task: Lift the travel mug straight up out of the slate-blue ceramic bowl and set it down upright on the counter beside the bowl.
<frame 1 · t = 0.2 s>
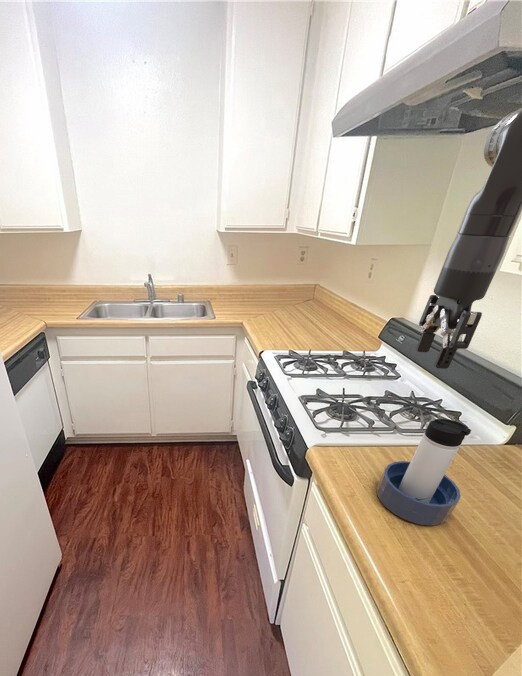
hand: (430, 359, 66), 30 cm above the countertop, tool pointing down, fingers open, 8 cm apart
bowl: (410, 502, 76), on the countertop
travel mug: (411, 501, 76), resting on bowl
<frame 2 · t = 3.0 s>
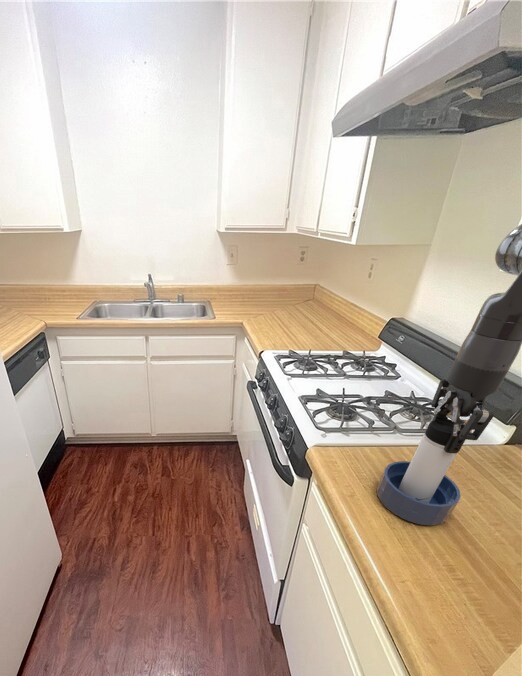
hand: (441, 441, 67), 16 cm above the countertop, tool pointing down, fingers closed on travel mug, 6 cm apart
travel mug: (411, 500, 76), resting on bowl, touching gripper
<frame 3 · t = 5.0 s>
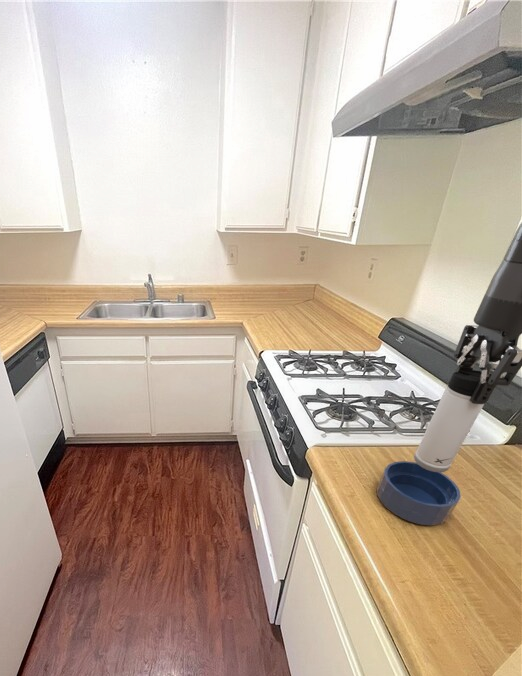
hand: (466, 393, 62), 27 cm above the countertop, tool pointing down, fingers closed on travel mug, 6 cm apart
travel mug: (431, 464, 70), point 11 cm above the countertop, touching gripper
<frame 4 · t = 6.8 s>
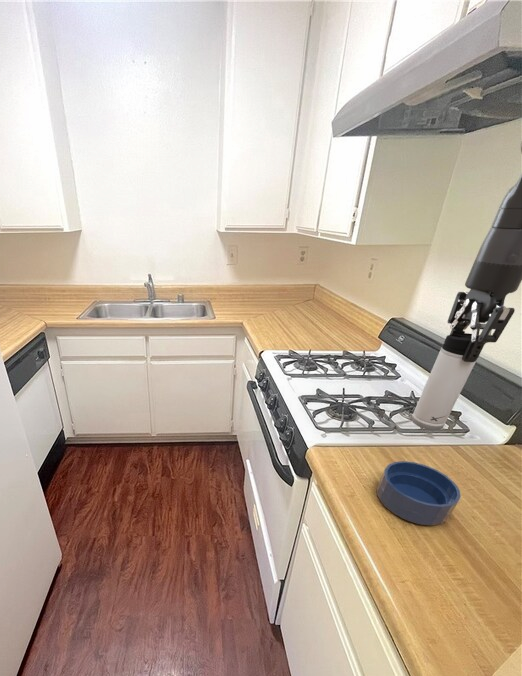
hand: (458, 354, 67), 31 cm above the countertop, tool pointing down, fingers closed on travel mug, 6 cm apart
travel mug: (427, 424, 76), point 15 cm above the countertop, touching gripper
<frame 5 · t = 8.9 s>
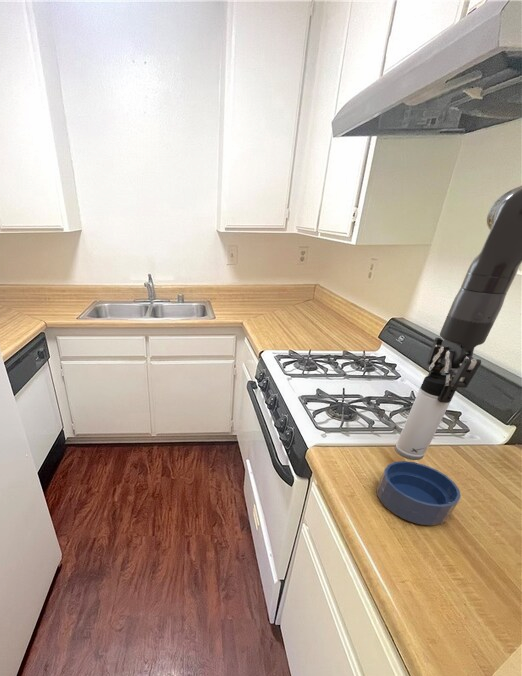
hand: (435, 394, 75), 21 cm above the countertop, tool pointing down, fingers closed on travel mug, 6 cm apart
travel mug: (408, 453, 83), point 5 cm above the countertop, touching gripper
when the fingers open (16 cm above the countertop, at t = 10.7 s): travel mug stays where it is, on the countertop.
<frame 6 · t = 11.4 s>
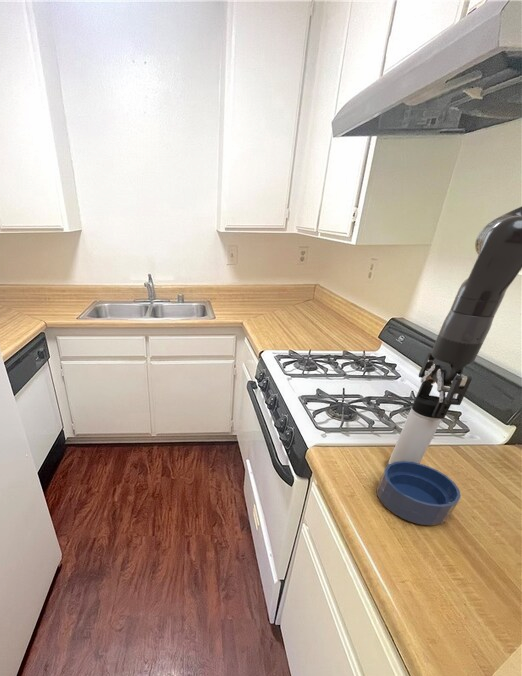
hand: (428, 408, 76), 17 cm above the countertop, tool pointing down, fingers open, 8 cm apart
travel mug: (401, 470, 86), on the countertop
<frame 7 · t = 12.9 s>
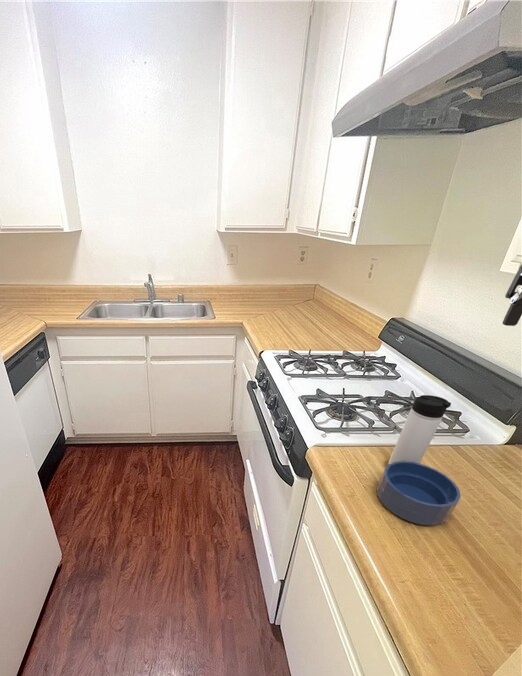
nothing on the countertop moved.
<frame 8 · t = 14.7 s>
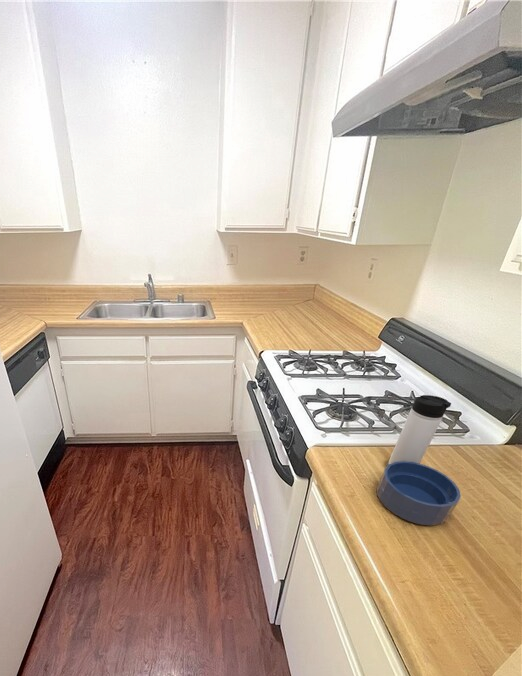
nothing on the countertop moved.
at the end: travel mug inside the target area (0.1 cm from its centre), on the countertop; travel mug tilted 0°; travel mug touching countertop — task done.
